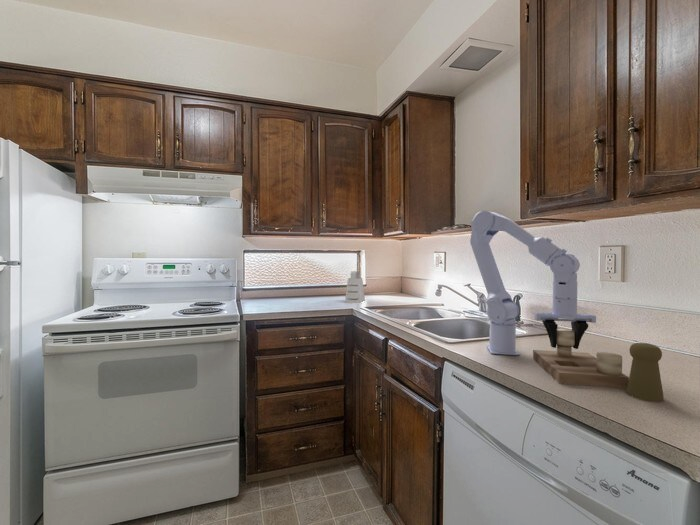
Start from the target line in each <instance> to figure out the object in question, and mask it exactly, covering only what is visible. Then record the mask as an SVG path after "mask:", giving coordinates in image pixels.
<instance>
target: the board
mask: <svg viewBox="0 0 700 525" xmlns="http://www.w3.org/2000/svg"><path fill="white" fill-rule="evenodd" d="M532 359H533V360H534V361H535V362H536V363H537V364H538V365H540V367H541V366H542V367H543V368H544V369H543V368H542V367H541V368H542V369H543V370H545V372H547V374H548V375H550V376H551V377H552V378H553V379H554V380H555V379H556V380H557V381H558V382H559V383H558V382H557V381H556V380H555V381H556V382H557V383H558V384H562V383H567V384H566V385H576V384H577V385H578V386H589V385H592V386H593V387H607V388H619V389H627V387H628V381H629V376H628V375H626V374H624V373H623V356H622V355H621V354H618V353H612V352H607V351H599V352H597V353H596V356H594V355H592V354H590V353H588V352H578V351H577V352H575V351H572V355H571V356H562V355H558V354H557V350H540V349H539V350H538V349H537V350H535V349H533V351H532Z"/></svg>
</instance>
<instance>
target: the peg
mask: <svg viewBox="0 0 700 525" xmlns="http://www.w3.org/2000/svg"><path fill="white" fill-rule="evenodd" d="M573 345H575V331H572V329H564V328H557V334H556V351H557V354H558V355H562V356H571V355H572V352H573V351H572V350H573V347H572V346H573Z"/></svg>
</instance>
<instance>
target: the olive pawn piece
mask: <svg viewBox="0 0 700 525" xmlns="http://www.w3.org/2000/svg"><path fill="white" fill-rule="evenodd" d="M629 355H630V356H631V358H632V360H631V365H630V371H629V376H628V377H629V381H628V387H627V388H626V394H627V395H629V396H630V397H632V396H633V397H632V398H635V399H638V400H642V401H647V402H653V403H660V402H664V400H665V398H664V391H663V384H662V379H661V377H662V376H661V373H660V365H659V361H660V360H661V359H662V356H663V352H662V349H661V348H660V347H659V346H657V345H654V344H651V343H646V342H635V343H632V344H631V345H630V347H629Z"/></svg>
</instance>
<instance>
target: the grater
mask: <svg viewBox="0 0 700 525" xmlns="http://www.w3.org/2000/svg"><path fill="white" fill-rule="evenodd" d="M363 282H364V280H363V278H362V277H360V271H357V270H356V271H355V270H354V271H350V277H348V278H347V283H346V290H345V298H344V299H345V300H344V304H353V303H361V302H363V301H365V302H366V299H365V291H364V290H365V289H364V283H363ZM361 304H362V303H361Z"/></svg>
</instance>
